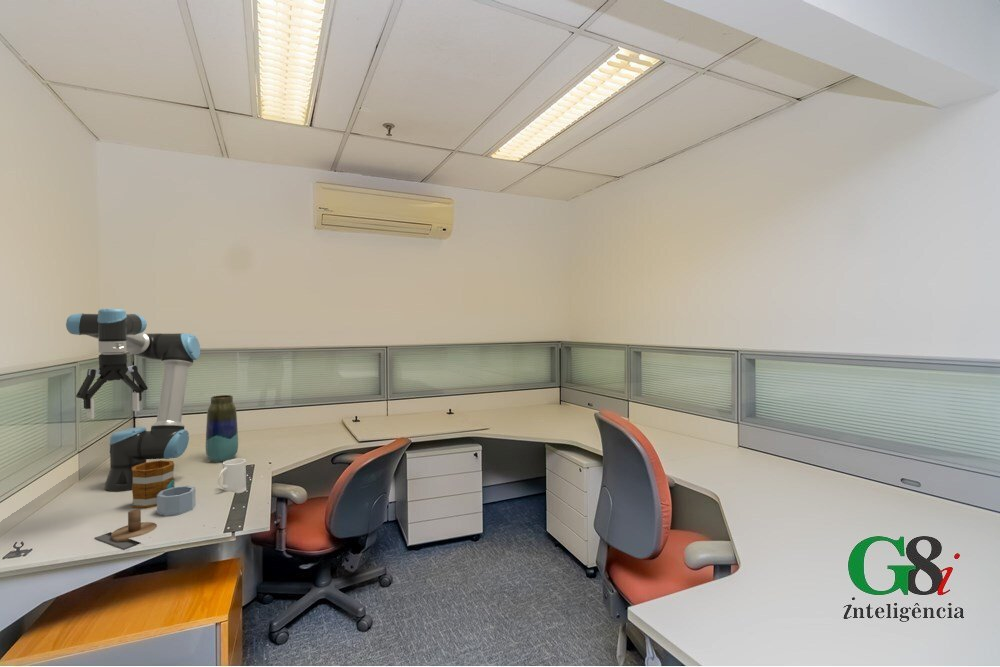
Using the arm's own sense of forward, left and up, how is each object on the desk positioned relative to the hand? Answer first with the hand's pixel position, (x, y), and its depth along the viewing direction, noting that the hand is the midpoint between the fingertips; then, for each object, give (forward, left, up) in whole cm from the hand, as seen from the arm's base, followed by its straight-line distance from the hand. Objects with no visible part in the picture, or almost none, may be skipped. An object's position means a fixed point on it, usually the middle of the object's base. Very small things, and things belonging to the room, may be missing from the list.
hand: (114, 414), depth 163 cm
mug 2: (+14, +33, -36) cm, 51 cm away
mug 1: (-1, +14, -36) cm, 39 cm away
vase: (-30, +60, -36) cm, 76 cm away
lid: (+21, -5, -36) cm, 42 cm away
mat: (+21, -5, -36) cm, 42 cm away
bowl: (+16, +11, -36) cm, 41 cm away
